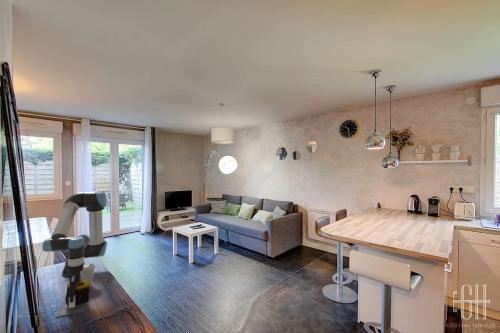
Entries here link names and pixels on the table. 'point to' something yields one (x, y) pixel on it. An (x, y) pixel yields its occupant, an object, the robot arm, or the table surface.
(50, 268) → the table surface
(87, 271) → the coffee cup
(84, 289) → the candle
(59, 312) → the coaster
